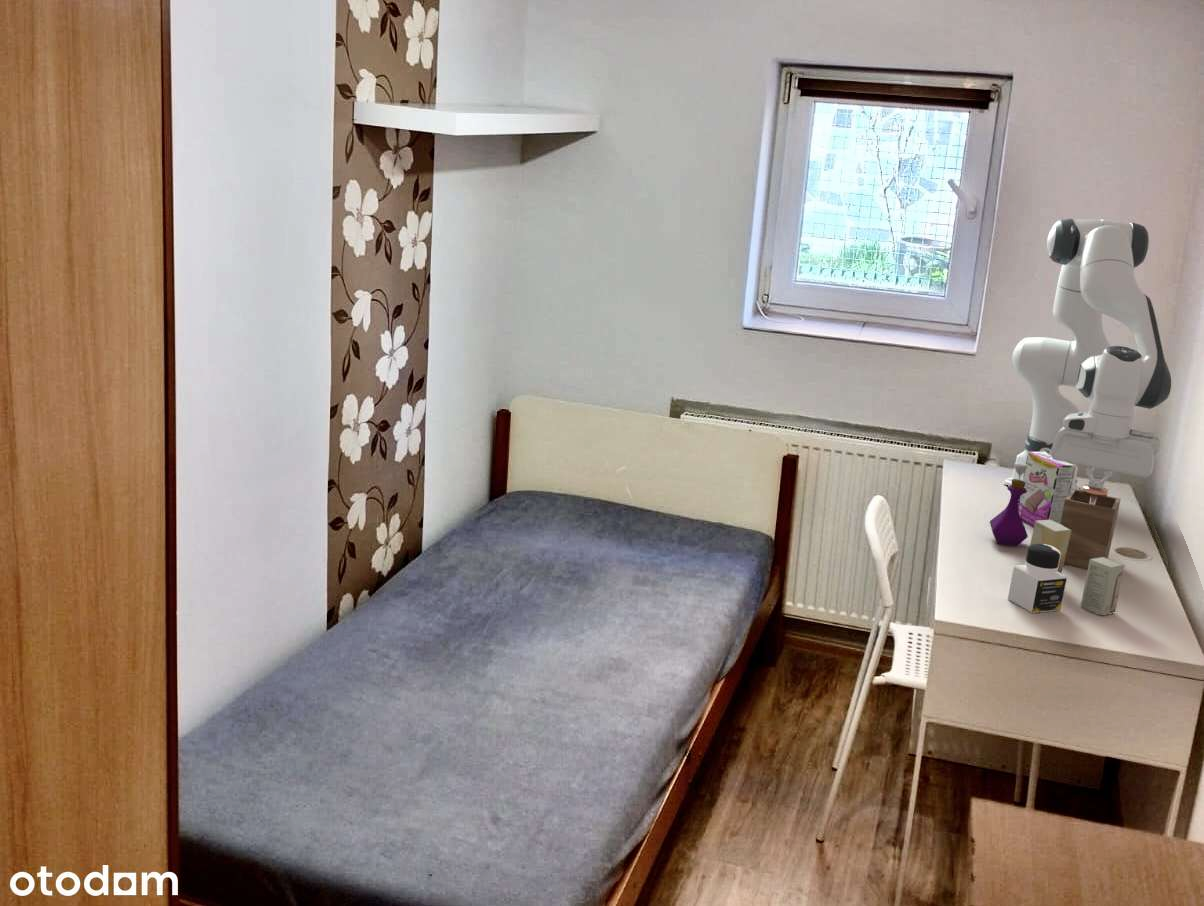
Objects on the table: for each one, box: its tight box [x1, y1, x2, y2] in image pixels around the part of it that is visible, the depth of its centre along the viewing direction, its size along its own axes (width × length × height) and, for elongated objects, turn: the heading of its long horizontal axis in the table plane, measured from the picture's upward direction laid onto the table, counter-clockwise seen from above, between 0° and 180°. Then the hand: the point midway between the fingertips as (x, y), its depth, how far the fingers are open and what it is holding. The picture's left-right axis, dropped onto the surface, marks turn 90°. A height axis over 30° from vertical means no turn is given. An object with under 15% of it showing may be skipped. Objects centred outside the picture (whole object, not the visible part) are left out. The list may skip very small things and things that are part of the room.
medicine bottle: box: [1007, 544, 1068, 614], centre depth 241 cm, size 7×7×12 cm
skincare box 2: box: [1080, 557, 1125, 616], centre depth 242 cm, size 5×4×10 cm
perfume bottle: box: [989, 463, 1029, 548], centre depth 275 cm, size 8×8×18 cm
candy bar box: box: [1018, 451, 1075, 528], centre depth 289 cm, size 11×5×16 cm, turn 20°
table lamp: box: [1081, 483, 1109, 505], centre depth 267 cm, size 8×8×13 cm
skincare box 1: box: [1029, 520, 1071, 574], centre depth 254 cm, size 6×4×12 cm
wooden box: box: [1060, 489, 1122, 571], centre depth 268 cm, size 10×10×14 cm
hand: (1095, 488), depth 265 cm, fingers closed, pressing on table lamp
